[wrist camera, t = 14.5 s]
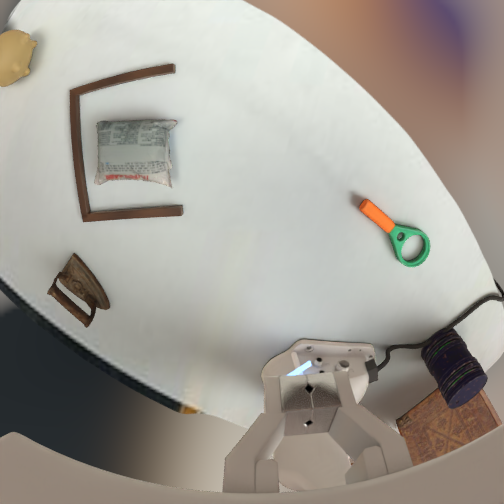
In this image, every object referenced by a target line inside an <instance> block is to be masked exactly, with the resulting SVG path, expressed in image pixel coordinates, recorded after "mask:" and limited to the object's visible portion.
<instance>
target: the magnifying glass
mask: <svg viewBox="0 0 504 504" xmlns="http://www.w3.org/2000/svg"><path fill="white" fill-rule="evenodd" d="M359 210H360V211H361V212H363V213H364V214H365V215H366V216H367V217H369V218H370V219H371V220H372V221H374V222H375V223H376V224H377V225H378V226H379V227H381V228H382V229H383V230H384V231H385V232H387V233H388V234H389V237H390V240H391V243H392V246H393V249H394V252H395V255H396V257H397V259H398V260H399V261H400V262H401V263H402V264H403V265H405V266H407V267H416V266H419V265H420V264H422V263H423V262H424V261H425V260H426V258H427V257H428V255H429V252H430V241H429V238H428V237H427V235H426V234H425V233H424V232H422V231H421V230H419V229H416V228H411V227H407V226H402V225H397V224H395V223H394V222H393V221H392V220H391V219H390V218H389V217H388V216H387V215H386V214H385V213H383V212H382V211H381V210H380V209H379V208H378V207H377V206H375V205H374V204H373V203H372V202H371V201H370V200H368V199H365V200H364V201H363V202H362V204H361V205H360V207H359ZM400 232H402V233H403V235H402V237H401V238H400V239H397V235H398V234H399V233H400ZM413 235H421V236H422V238H423V241H424V246H423V249H422V252H421V253H420V255H419V256H418V257H417V258H416V259H414V260H412V261H405V260H404V259H403V258H402V255H401V250H402V246H403V244H404V243H405V241H406V240H407V239H408V238H409V237H411V236H413Z"/></svg>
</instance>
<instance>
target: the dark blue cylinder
mask: <svg viewBox="0 0 504 504" xmlns="http://www.w3.org/2000/svg"><path fill="white" fill-rule="evenodd" d="M444 329H445V328H444ZM444 329H442V330H440V331H438V332H436V333H435V334H434V335H432V336H431V337H430V338H429V339H428V340H432V342H431V344H430V345H428V346H425V347H423V348H422V351H421V356H422V358H423V360H424V362H425V364H426V366H427V368H428V370H429V372H430V374H431V375H432V376H434V378H435V380H436V381H437V383H438V388H439V391H440V392H441V395H442V397H443V398H444V399H445V401H446V403H447V405H448V407H449V408H450V409H455V408H458V407H460V406H462V405H464V404H465V403H467V402H468V401H470V400H471V399H472V398H474V397H475V396H476V395H477V394H478V393H479V392H480V391H481V390H482V388H483V387H484V386H485V384H486V382H487V379H488V378H487V375H486V374H485V373H484V371H483V369H482V367H481V365H480V364H479V363H478V361H477V359H476V358H475V357H473V356H472V355H471V353H470V352H469V351H468V349H467V345H466V343H465V342H464V341H463V339H462V338H461V337H460V336H459V335H458V334H457V333H456V331H455V330H454V329H453V328H452V329H451V330H449V331H448V332H445V333H444V332H443V331H444Z"/></svg>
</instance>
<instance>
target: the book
mask: <svg viewBox="0 0 504 504" xmlns="http://www.w3.org/2000/svg"><path fill="white" fill-rule="evenodd" d="M396 424H397V426H398V429H399V432H400V435H401V436H402V437H404V439H405V442H406V445H407V448H408V451H409V454H410V457H411V460H412V463H413V466H416V465H419V464H422V463H424V462H427V461H430V460H432V459H435V458H437V457H440V456H442V455H444V454H447V453H449V452H451V451H453V450H455V449H458V448H460V447H462V446H464V445H466V444H468V443H470V442H472V441H474V440H476V439H477V438H479V437H481V436H483V435H485V434H487V433H488V432H490V431H492V430H493V429H495V428H497V427H498V426H500V425H502V422H501V420H500V418H499V416H498V415H497V413H496V411H495V409H494V407H493V405H492V404H491V402H490V400H489V399H488V397H487V395H486V393H485V392H484V390H483V388H482V390H481V391H480V392H479V393H478V394H477V395H476V396H475V397H474V398H472V399H471V400H470V401H468V402H467V403H465V404H464V405H462V406H460V407H458V408H455V409H450V408H449V407H448V405H447V403H446V401H445V399H444V398H443V397H442V395H441V392H440V391H439V388H437V389H436V390H435V391H434V392H433V393H431V394H430V395H429V396H428V397H426V398H425V399H424V400H423V401H421V402H420V403H419V404H418V405H416V406H415V407H414V408H412V409H411V410H410V411H408V412H407V413H406V414H404V415H403V416H401V417H400V418H399V419H397V420H396Z"/></svg>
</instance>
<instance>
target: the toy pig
mask: <svg viewBox="0 0 504 504" xmlns="http://www.w3.org/2000/svg"><path fill="white" fill-rule="evenodd" d="M36 45H37V42H36V41H31V39H30V35H29V34H28V33H25V32H23V31H20V30H10V31H7V32H5V33H3V34H1V35H0V86H1V87H6V86H8V85H10V84H12V83H14V82H15V81H17V80H18V79H19V78H20V77H22V76H27V75H28V74H29V73H30V69H29V68H28V66H29V63H30V61H31V57H32V50H33V48H35V47H36Z"/></svg>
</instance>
